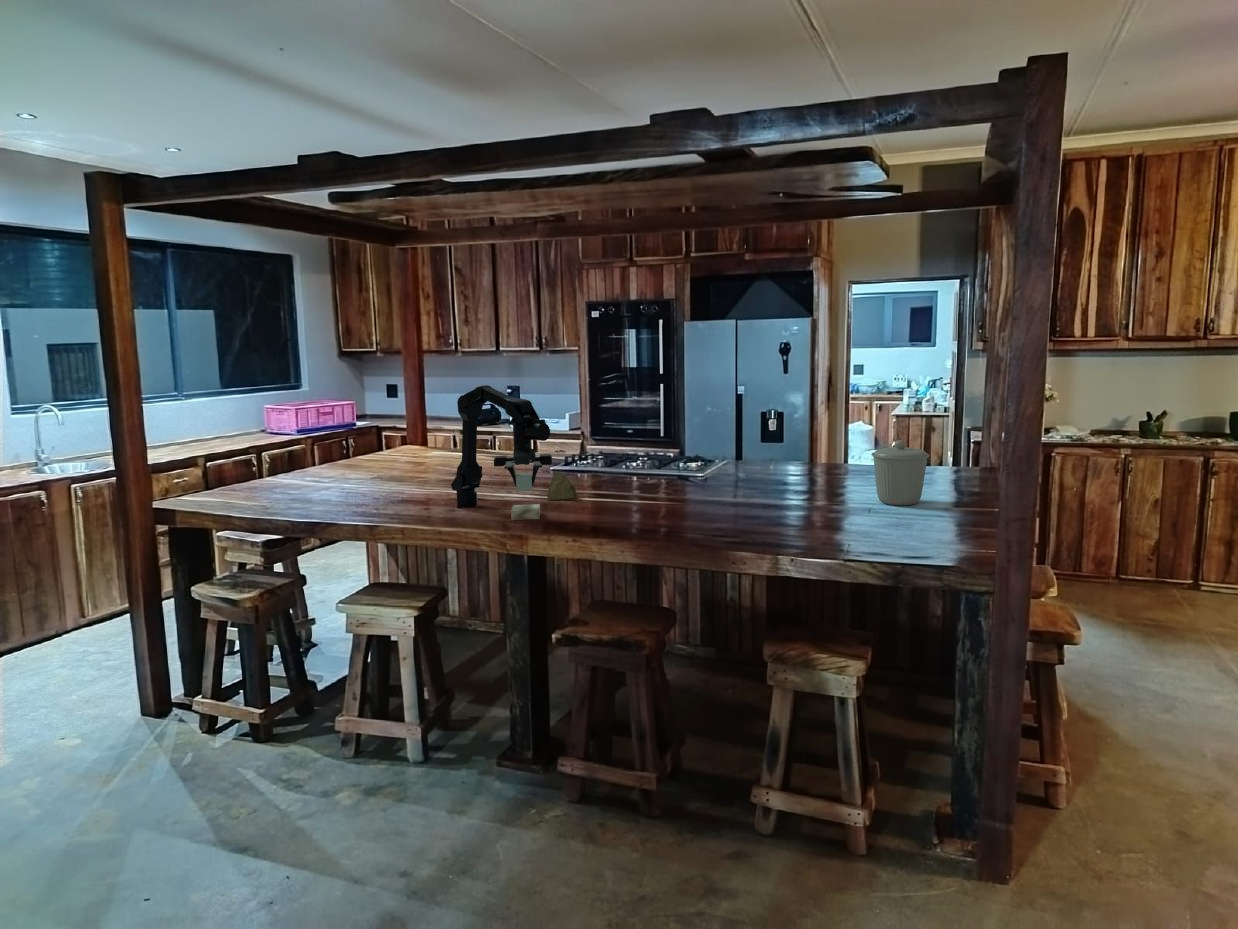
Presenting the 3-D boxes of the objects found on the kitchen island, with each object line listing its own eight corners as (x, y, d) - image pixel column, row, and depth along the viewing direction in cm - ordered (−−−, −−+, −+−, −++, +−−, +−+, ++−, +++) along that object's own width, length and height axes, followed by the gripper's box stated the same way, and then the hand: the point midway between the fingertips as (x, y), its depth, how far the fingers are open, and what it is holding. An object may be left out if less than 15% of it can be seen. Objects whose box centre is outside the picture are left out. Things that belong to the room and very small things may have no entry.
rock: (583, 489, 297) (559, 484, 301) (579, 474, 291) (554, 469, 295) (571, 511, 291) (547, 506, 295) (566, 496, 285) (541, 491, 289)
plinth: (511, 520, 262) (511, 510, 261) (513, 514, 271) (513, 505, 270) (539, 518, 262) (539, 509, 262) (540, 512, 271) (540, 504, 271)
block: (516, 491, 263) (515, 476, 262) (517, 488, 267) (516, 473, 267) (532, 491, 263) (531, 475, 262) (532, 488, 268) (532, 473, 267)
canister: (932, 509, 259) (934, 443, 256) (873, 508, 263) (874, 444, 259) (923, 497, 276) (924, 436, 273) (867, 497, 280) (869, 436, 277)
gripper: (491, 443, 254) (493, 492, 257) (550, 441, 255) (552, 489, 258) (494, 438, 265) (496, 485, 267) (551, 436, 266) (553, 483, 269)
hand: (524, 486), depth 265 cm, fingers closed on block, 5 cm apart
